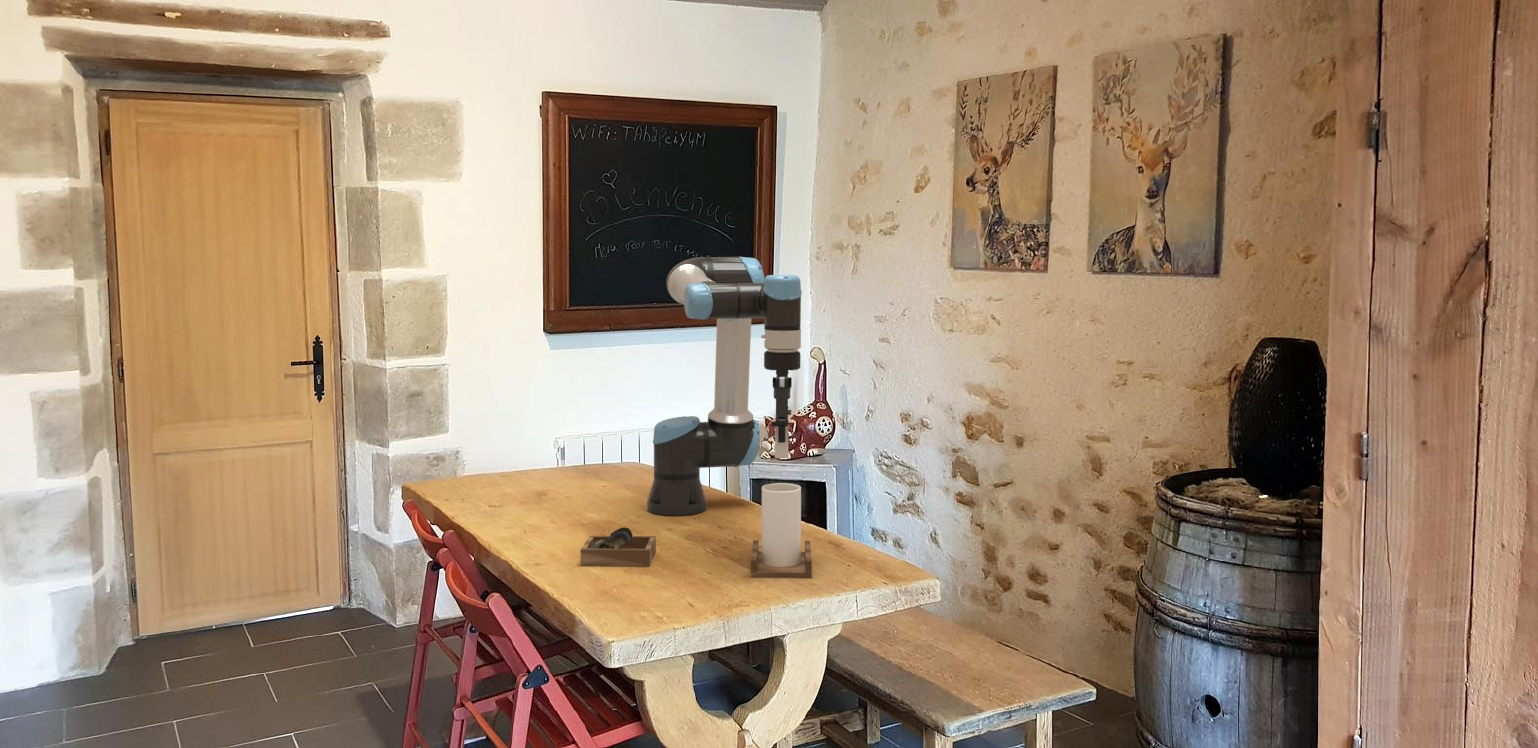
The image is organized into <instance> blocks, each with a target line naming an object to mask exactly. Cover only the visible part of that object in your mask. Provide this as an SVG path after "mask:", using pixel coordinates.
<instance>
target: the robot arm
mask: <svg viewBox="0 0 1538 748" xmlns="http://www.w3.org/2000/svg"><path fill="white" fill-rule="evenodd" d="M665 283H666V289H667V290H666V291H667V292H668V295H669V296H670V297H671V298H672V299H673V300H674V301H676V302H677V303H679V304H682V305H683V307H684V311H685V315H686V317H687V318H688V319H691V320H702V321H703V320H704V321H705V320H713V319H714V320H716V333H715V334H716V338H715V368H714V369H715V374H714V375H715V376H714V402H713V403H714V405H713V409H711V410H710V411H709V412H708V414H707V421H703V422H702V421H701V420H700V418H699V417H698V416H696V415H695V416H693V415H690V416H687V415H685V416H683V415H682V416H679V417H678V416H677V417H671V418H667V419H666V418H665V419H664V420H661V421H659V422H658V423H656V424H655V426H654V429H653V437H652V438H653V439H652V443H653V482H652V484H651V488H650V492H649V494H648V497H647V502H646V503H647V504H646V507H647V509H646V510H647V511H648V512H650V513H652V514H655V515H661V516H689V515H695V514H699V513H703V512H705V511H706V510H707V507H708V506H707V504H708V503H707V497H706V494H705V492H704V488H703V486H702V482H701V478H700V473H701V472H700V469H701V468H702V469H706V468H722V467H723V468H728V467H729V468H731V467H734V468H738V467H742V466H750V465H751V464H753V463H754V462H755V460H756V459H757V456H758V453H759V450H760V449H759V447H760V441H761V440H760V439H761V436H760V431H761V428H760V424H759V422H758V421H757V420H755V419H754V414H753V413H752V412H751V411H750V410H749V408H748V407H749V387H750V386H749V385H750V365H751V364H750V362H751V361H750V360H751V335H752V319H764V324H763V325H764V331H763V332H764V333H762V334H761V336H760V337H761V339H763V340H764V339H765V340H764V342H763V343H764V349H767V350H765V351H764V352H763V367H764V369H765V370H767V371H775V375H776V376H773V377H772V388H773V398H774V399H775V420H774V421H772V422H771V427H774V458H775V459H789V422H790V421H789V416H791V415H792V409H789V400H790V399H791V389H792V385H793V384H792V383H793V382H792V381H793V380H792V377H789V371H797V370H800V368H801V352H800V351H799V350H800V349H801V347H802V342H801V341H802V330H801V326H802V325H801V320H802V318H801V316H802V314H801V313H802V310H801V308H802V294H803V291H802V284H801V278H800V277H799V276H798V275H795V274H794V275H793V274H770V275H766V276H765V275H764V271H763V267H762V265H761V263H760V261H759V260H758V259H757V258H753V257H744V256H721V257H720V256H717V257H715V256H714V257H710V256H709V257H706V256H702V257H701V256H700V257H698V256H697V257H693V258H688V259H685V260H683V261H681V262H679V263H677V264H676V265H675V266H673V267H672V269H670V270H669V273H668V274H667V277H666V282H665Z"/></svg>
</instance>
